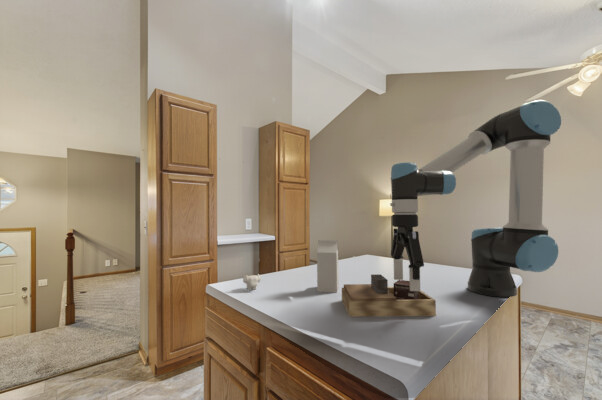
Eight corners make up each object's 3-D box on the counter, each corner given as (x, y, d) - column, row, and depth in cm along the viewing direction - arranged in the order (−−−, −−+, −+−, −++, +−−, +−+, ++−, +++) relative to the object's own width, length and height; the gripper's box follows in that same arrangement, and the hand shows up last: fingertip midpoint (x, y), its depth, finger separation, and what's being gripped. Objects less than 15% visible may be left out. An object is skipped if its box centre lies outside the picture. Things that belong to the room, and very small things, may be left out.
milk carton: (337, 294, 103) (336, 241, 103) (317, 293, 104) (316, 241, 105) (338, 289, 110) (337, 239, 110) (320, 288, 111) (319, 239, 112)
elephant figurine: (245, 293, 105) (245, 277, 106) (240, 288, 113) (240, 272, 113) (263, 291, 108) (263, 275, 109) (257, 286, 116) (257, 271, 116)
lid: (380, 286, 94) (380, 271, 94) (396, 300, 79) (395, 283, 80) (343, 286, 94) (343, 272, 94) (352, 301, 79) (352, 283, 79)
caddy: (415, 302, 94) (414, 286, 94) (435, 318, 80) (435, 300, 80) (341, 303, 93) (341, 287, 94) (349, 319, 79) (349, 301, 80)
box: (393, 308, 86) (392, 283, 86) (399, 302, 91) (398, 279, 91) (414, 312, 83) (413, 286, 83) (419, 306, 87) (418, 282, 88)
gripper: (380, 213, 100) (381, 275, 99) (407, 214, 75) (409, 297, 75) (402, 213, 100) (403, 275, 99) (436, 214, 76) (438, 296, 75)
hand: (406, 284), depth 87 cm, fingers open, 12 cm apart
